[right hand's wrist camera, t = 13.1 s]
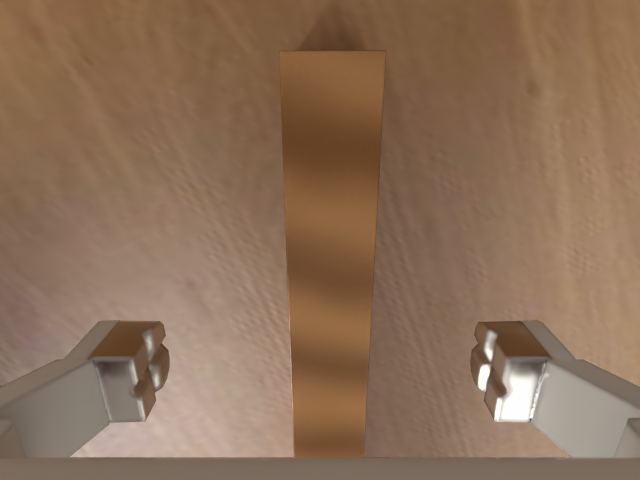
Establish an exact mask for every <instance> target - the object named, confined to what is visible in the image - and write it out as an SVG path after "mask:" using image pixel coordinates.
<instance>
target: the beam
mask: <svg viewBox="0 0 640 480" xmlns="http://www.w3.org/2000/svg"><path fill="white" fill-rule="evenodd" d="M279 61H280V89H281V116H282V144H283V171H284V199H285V227H286V254H287V282H288V310H289V337H290V365H291V392H292V420H293V448H294V458H364V441H365V423H366V405H367V387H368V368H369V350H370V332H371V314H372V296H373V278H374V260H375V242H376V224H377V206H378V188H379V170H380V152H381V134H382V115H383V97H384V79H385V61H386V51H385V50H359V51H279Z"/></svg>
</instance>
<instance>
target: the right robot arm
mask: <svg viewBox="0 0 640 480" xmlns="http://www.w3.org/2000/svg"><path fill="white" fill-rule="evenodd" d="M165 336H166V335H165V330H164V325H163V324H162V323H161V322H160V321H120V320H111V321H100V322H98V323H97V324H96V325H95V326H94V327H93V328H92V329H91V330H90V331H89V332H88V334H87V335H86V336H85V337H84V338H83V339H82V340H81V341H80V342H79V343H78V344H77V345H76V347H75V348H74V349H73V350H72V351H71V352H70V353H69V354H68V355H67V356H66V357H65V359H64V360H55V361H53V362H51V363H49V364H47V365H45V366H43V367H41V368H39V369H36V370H34V371H32V372H30V373H28V374H26V375H24V376H22V377H20V378H18V379H16V380H14V381H11V382H9V383H7V384H5V385H3V386H1V387H0V480H640V387H639V386H637V385H635V384H633V383H630V382H628V381H626V380H624V379H622V378H620V377H618V376H616V375H614V374H612V373H610V372H608V371H606V370H603V369H601V368H599V367H597V366H595V365H593V364H591V363H589V362H587V361H585V360H576V359H575V357H574V356H573V355H572V354H571V353H570V352H569V351H568V350H567V349H566V348H565V347H564V345H563V344H562V343H561V342H560V341H559V340H558V339H557V338H556V337H555V336H554V335H553V334H552V332H551V331H550V330H549V329H548V328H547V327H546V326H545V325H544V324H543V323H542V322H540V321H538V320H529V321H501V322H478V324H477V326H476V329H475V334H474V336H475V338H476V339H477V341H478V344H477V345H476V346H475V347H474V348H473V349H472V352H471V360H470V363H471V373H472V376H473V380H474V382H475V384H476V386H477V387H478V388H479V389H481V390H482V391H484V392H485V397H484V402H485V403H486V405H487V407H488V409H489V411H490V413H491V415H492V417H493V419H494V421H495V422H529V423H531V425H532V426H534V427H535V428H536V429H537V430H539V431H540V432H541V433H542V434H543V435H545V436H546V437H547V438H548V439H549V440H551V441H552V442H553V443H554V444H556V445H557V446H558V447H559V448H560V449H562V450H563V451H564V452H565V453H567V454H568V455H569V456H570V457H552V458H277V457H192V458H73V457H70V456H71V455H72V454H74V453H75V452H76V451H77V450H78V449H80V448H81V447H82V446H83V445H85V444H86V443H87V442H88V441H89V440H91V439H92V438H93V437H94V436H96V435H97V434H98V433H99V432H100V431H102V430H103V429H104V428H105V427H107V426H108V425H109V423H111V422H145V421H146V419H147V417H148V415H149V413H150V411H151V409H152V407H153V405H154V403H155V402H156V397H155V392H156V391H158V390H159V389H161V388H162V387H163V386H164V384H165V382H166V379H167V376H168V371H169V352H168V349H167V348H166V347H165V346H164V345H163V344H162V341H163V339H164V338H165Z"/></svg>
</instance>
